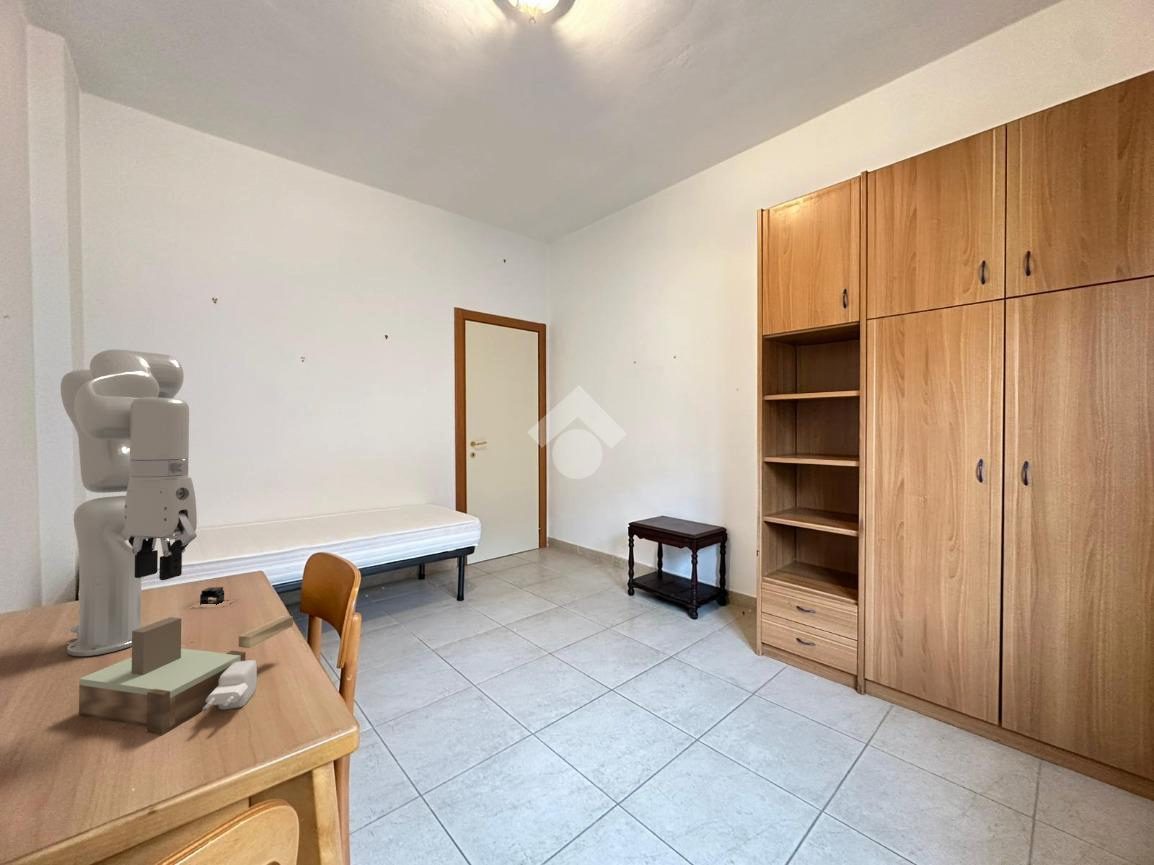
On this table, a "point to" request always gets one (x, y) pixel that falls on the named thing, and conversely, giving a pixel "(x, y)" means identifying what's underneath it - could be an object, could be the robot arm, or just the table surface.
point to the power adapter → (234, 686)
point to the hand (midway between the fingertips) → (158, 575)
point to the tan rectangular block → (265, 631)
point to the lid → (160, 663)
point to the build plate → (212, 595)
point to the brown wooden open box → (148, 704)
